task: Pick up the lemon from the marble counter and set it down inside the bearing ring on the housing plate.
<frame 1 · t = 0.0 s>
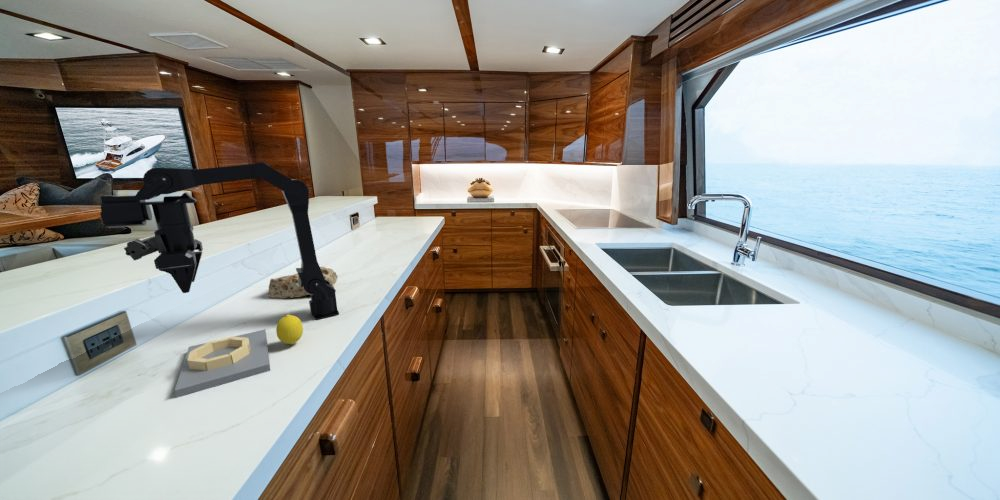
hand: (188, 287, 81), 15 cm above the counter, tool pointing down, fingers open, 9 cm apart
housing plate: (228, 360, 76), on the counter
lemon: (292, 345, 83), on the counter
rock: (306, 292, 119), on the counter
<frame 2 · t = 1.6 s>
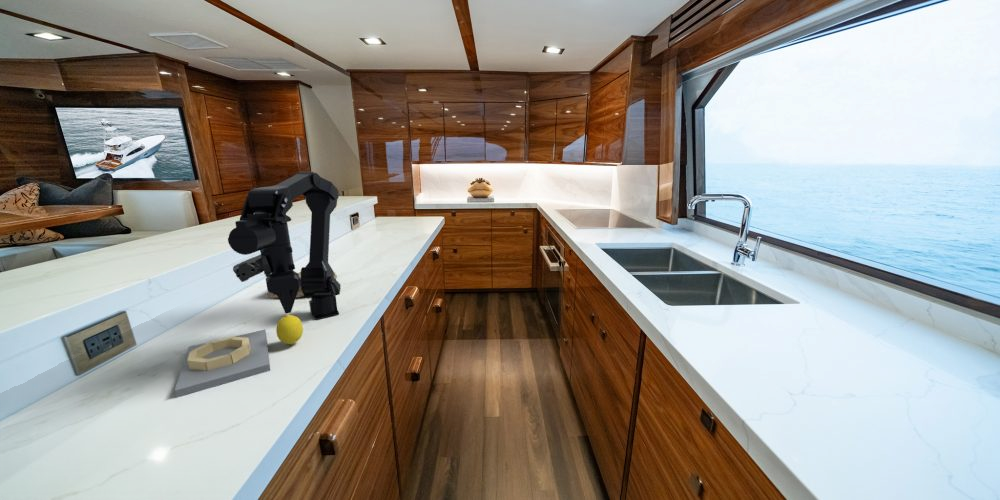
hand: (286, 306, 81), 10 cm above the counter, tool pointing down, fingers open, 9 cm apart
nothing on the counter moved.
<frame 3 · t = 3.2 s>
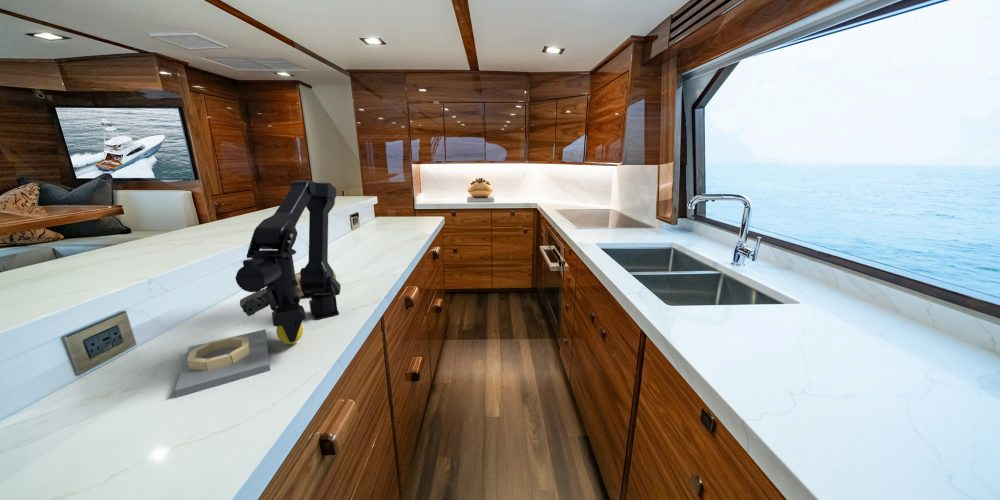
hand: (291, 337, 83), 2 cm above the counter, tool pointing down, fingers closed on lemon, 5 cm apart
lemon: (292, 345, 83), on the counter, touching gripper
everything else where it was.
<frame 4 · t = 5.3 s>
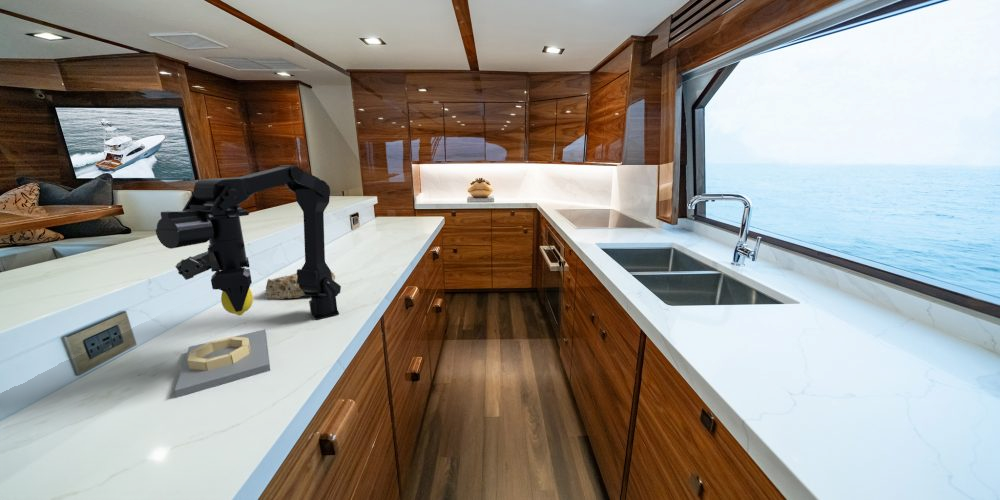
hand: (238, 307, 75), 12 cm above the counter, tool pointing down, fingers closed on lemon, 5 cm apart
lemon: (240, 316, 76), point 10 cm above the counter, touching gripper
everything else where it was.
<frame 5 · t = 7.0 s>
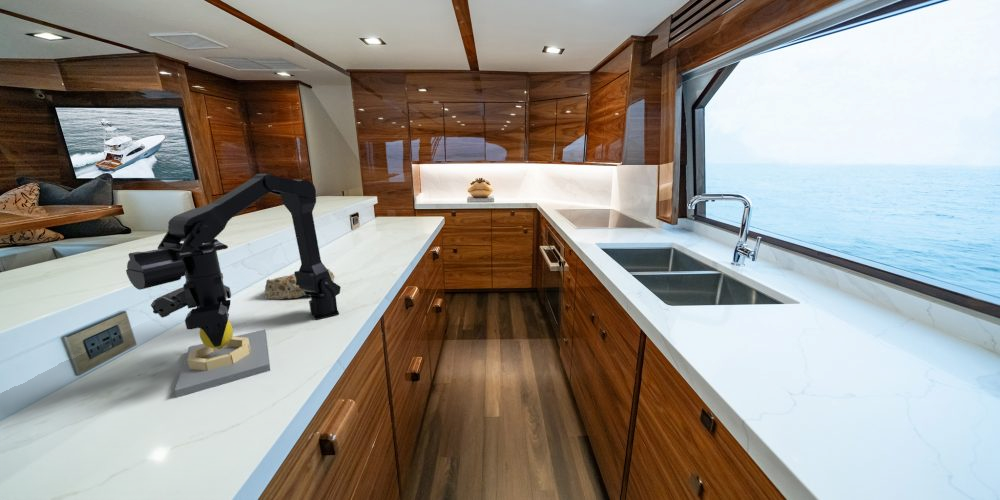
hand: (218, 340, 74), 5 cm above the counter, tool pointing down, fingers closed on lemon, 5 cm apart
lemon: (220, 349, 75), point 3 cm above the counter, touching gripper
when the fingers open (5 cm above the counter, at t = 7.7 s): lemon drops 2 cm, resting on housing plate.
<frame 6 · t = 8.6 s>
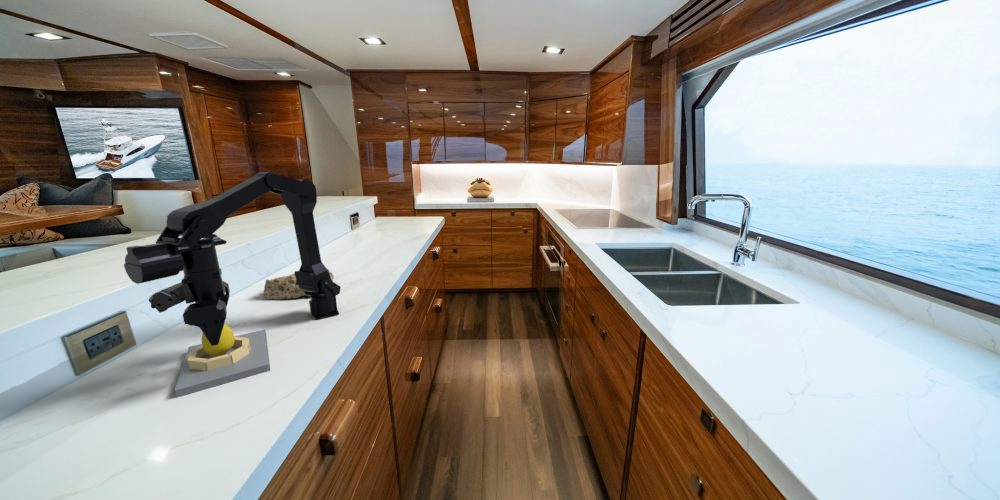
hand: (216, 336, 74), 7 cm above the counter, tool pointing down, fingers open, 9 cm apart
lemon: (222, 356, 75), point 1 cm above the counter, touching housing plate
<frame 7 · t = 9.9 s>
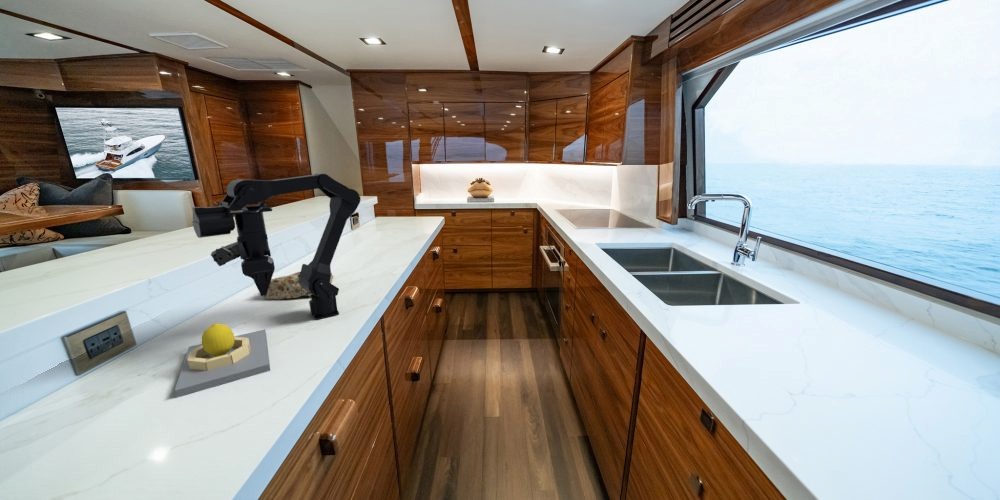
hand: (263, 290, 87), 12 cm above the counter, tool pointing down, fingers open, 9 cm apart
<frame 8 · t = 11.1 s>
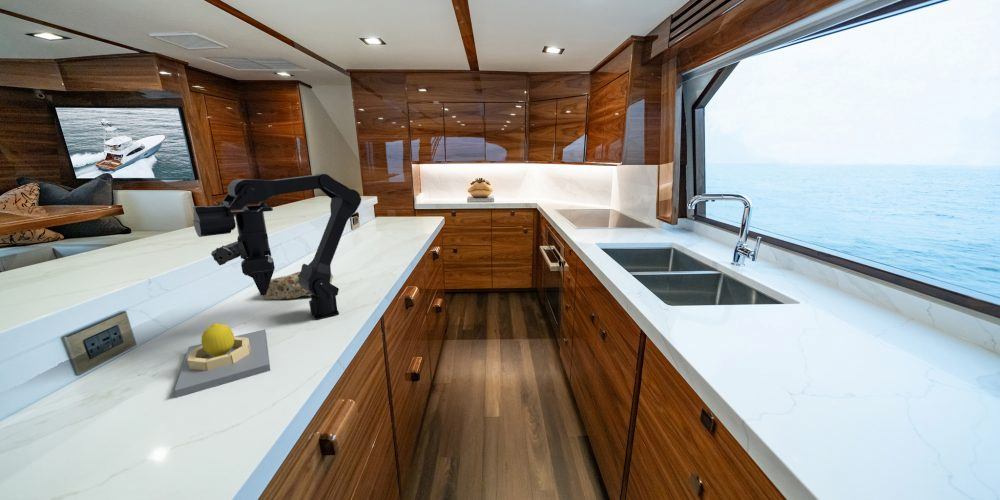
hand: (262, 289, 87), 12 cm above the counter, tool pointing down, fingers open, 9 cm apart
at the end: lemon 0.1 cm from the target spot on the housing plate, point 1.3 cm above the housing plate's base; lemon touching housing plate; the gripper is holding nothing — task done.
